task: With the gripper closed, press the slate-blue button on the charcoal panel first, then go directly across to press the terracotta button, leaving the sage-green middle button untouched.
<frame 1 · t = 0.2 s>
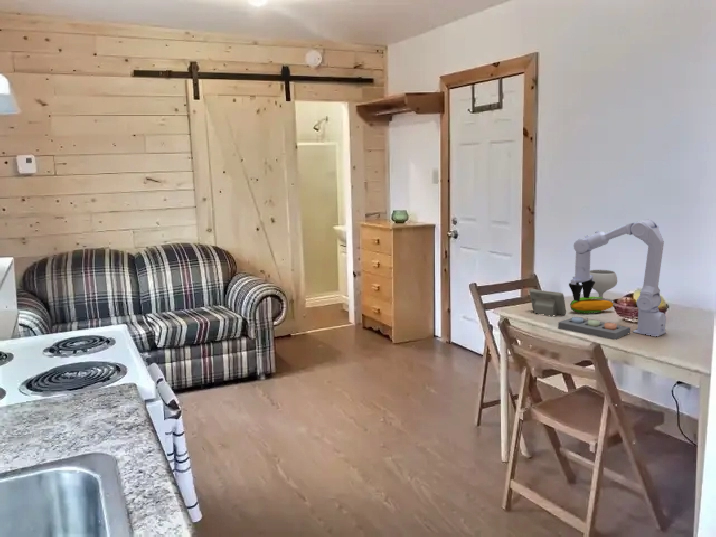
hand: (581, 299, 261), 10 cm above the table, tool pointing down, fingers open, 7 cm apart
button terracotta: (610, 327, 242), point 3 cm above the table, slide at 0.0 cm
digital clock: (547, 314, 278), on the table
chalice: (600, 303, 296), on the table
button slate: (577, 321, 252), point 3 cm above the table, slide at 0.0 cm
button panel: (593, 330, 248), on the table
button sage: (593, 324, 247), point 3 cm above the table, slide at 0.0 cm
corn: (591, 313, 278), on the table
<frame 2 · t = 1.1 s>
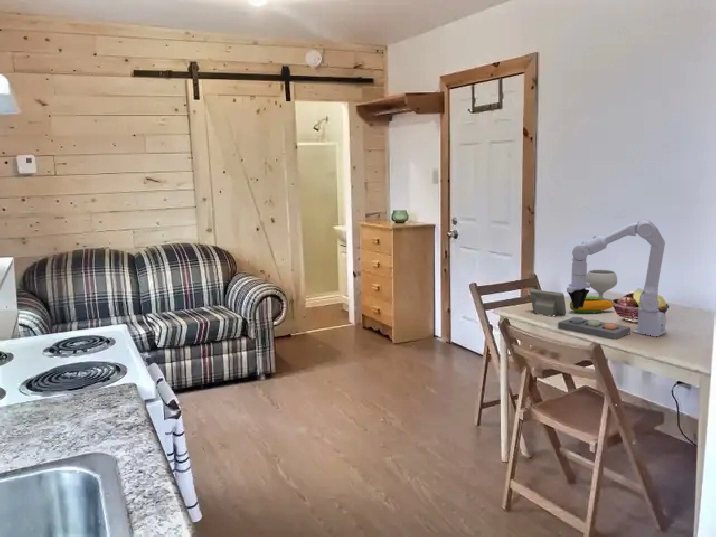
hand: (577, 307, 252), 8 cm above the table, tool pointing down, fingers open, 3 cm apart
nothing on the table moved.
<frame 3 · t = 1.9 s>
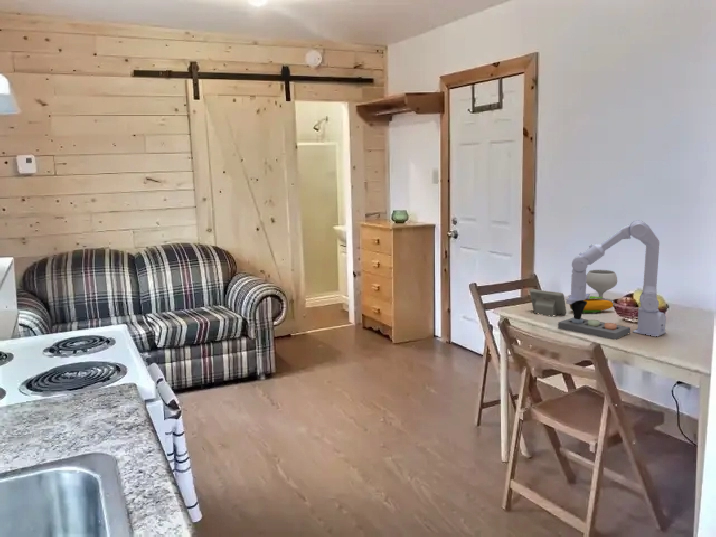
hand: (577, 318, 252), 4 cm above the table, tool pointing down, fingers closed, pressing on button slate
button slate: (577, 321, 252), point 3 cm above the table, slide at 0.2 cm, touching gripper
everything else where it was.
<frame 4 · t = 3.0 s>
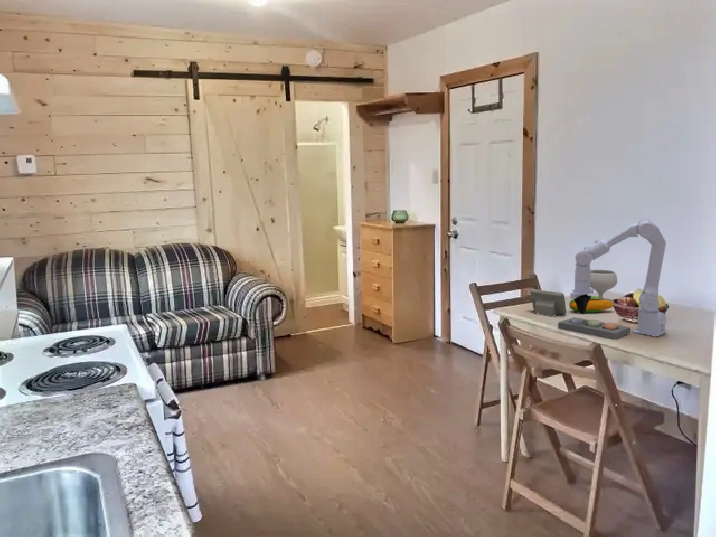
hand: (581, 313, 251), 6 cm above the table, tool pointing down, fingers closed
button slate: (577, 323, 253), point 2 cm above the table, slide at 0.9 cm
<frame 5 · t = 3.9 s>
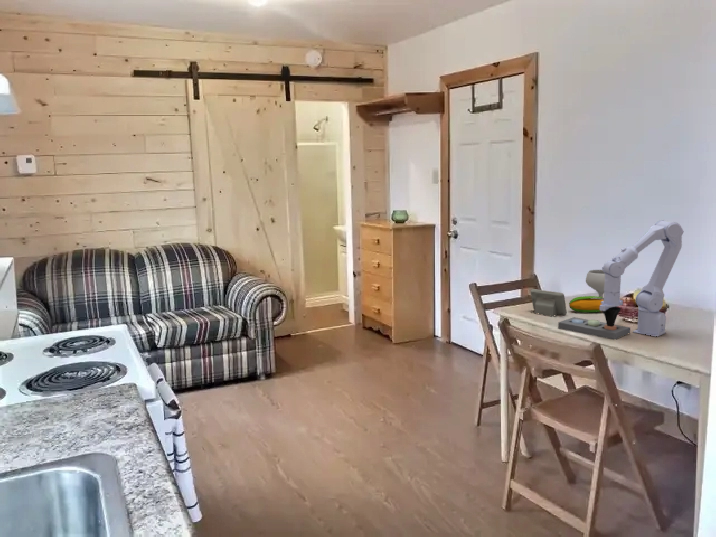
hand: (610, 325, 242), 3 cm above the table, tool pointing down, fingers closed, pressing on button terracotta
button terracotta: (610, 328, 242), point 2 cm above the table, slide at 0.7 cm, touching gripper
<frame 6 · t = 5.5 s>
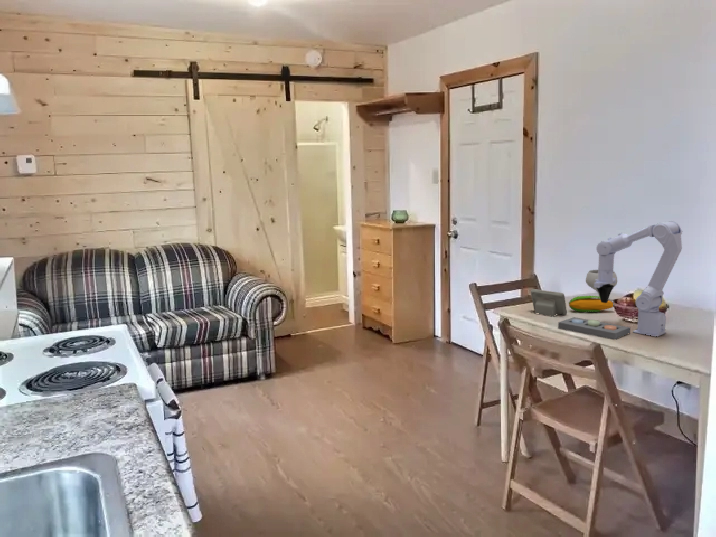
hand: (604, 302, 256), 9 cm above the table, tool pointing down, fingers closed
button terracotta: (610, 329, 242), point 2 cm above the table, slide at 0.9 cm
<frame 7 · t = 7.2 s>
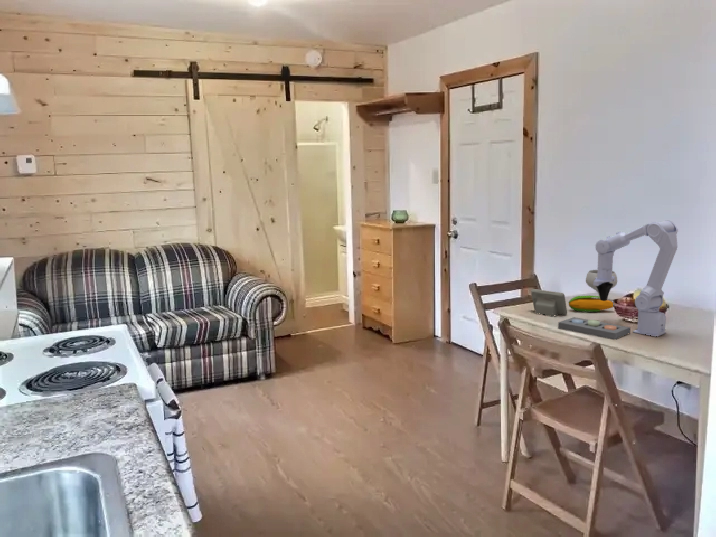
hand: (603, 300, 259), 9 cm above the table, tool pointing down, fingers closed
at the end: button slate slide at 0.9 cm; button terracotta slide at 0.9 cm; button sage slide at 0.0 cm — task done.
